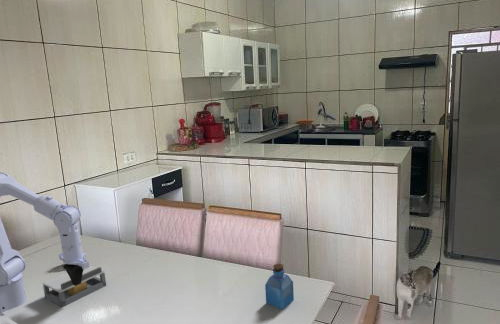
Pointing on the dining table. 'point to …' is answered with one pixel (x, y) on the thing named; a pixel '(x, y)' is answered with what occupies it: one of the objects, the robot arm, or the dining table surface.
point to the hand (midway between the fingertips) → (77, 284)
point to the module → (77, 288)
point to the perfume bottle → (279, 288)
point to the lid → (65, 282)
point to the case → (65, 298)
